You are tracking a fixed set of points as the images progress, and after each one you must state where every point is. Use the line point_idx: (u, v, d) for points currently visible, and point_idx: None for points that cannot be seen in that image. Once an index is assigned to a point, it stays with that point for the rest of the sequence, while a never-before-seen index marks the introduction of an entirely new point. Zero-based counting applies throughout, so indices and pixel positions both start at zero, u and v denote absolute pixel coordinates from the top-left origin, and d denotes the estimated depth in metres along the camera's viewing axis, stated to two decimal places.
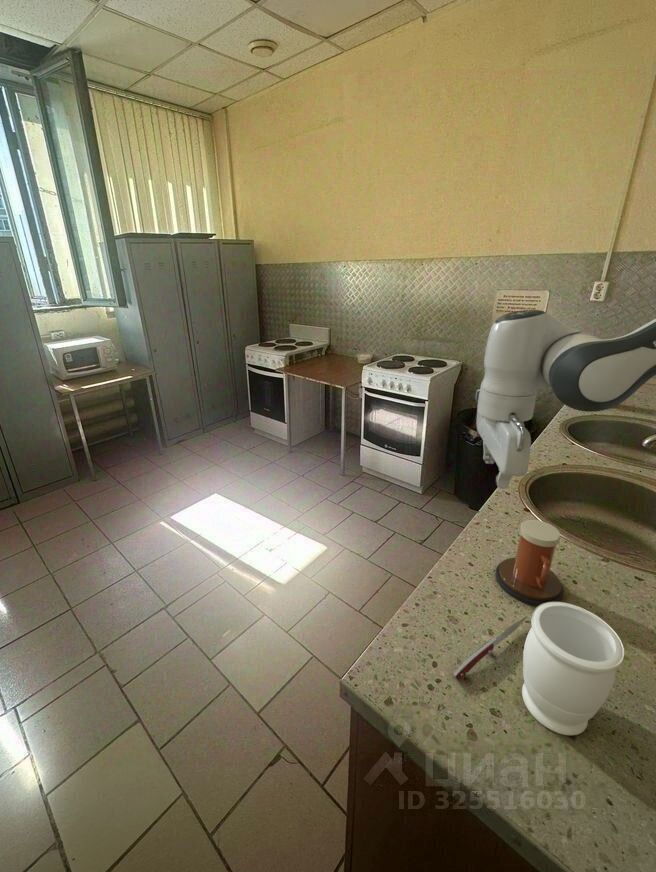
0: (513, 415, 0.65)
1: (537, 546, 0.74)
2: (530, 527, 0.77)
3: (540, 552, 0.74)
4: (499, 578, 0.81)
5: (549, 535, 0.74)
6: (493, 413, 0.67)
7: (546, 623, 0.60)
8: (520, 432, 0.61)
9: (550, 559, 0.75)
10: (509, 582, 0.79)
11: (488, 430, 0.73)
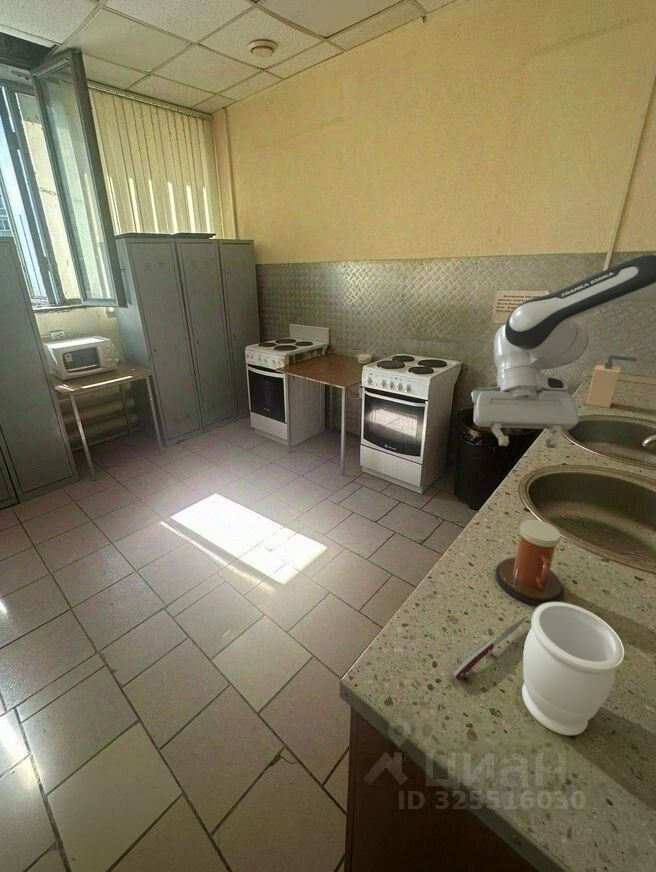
0: None
1: (537, 546, 0.74)
2: (530, 527, 0.77)
3: (540, 552, 0.74)
4: (499, 578, 0.81)
5: (549, 535, 0.74)
6: None
7: (546, 623, 0.60)
8: None
9: (550, 559, 0.75)
10: (509, 582, 0.79)
11: None
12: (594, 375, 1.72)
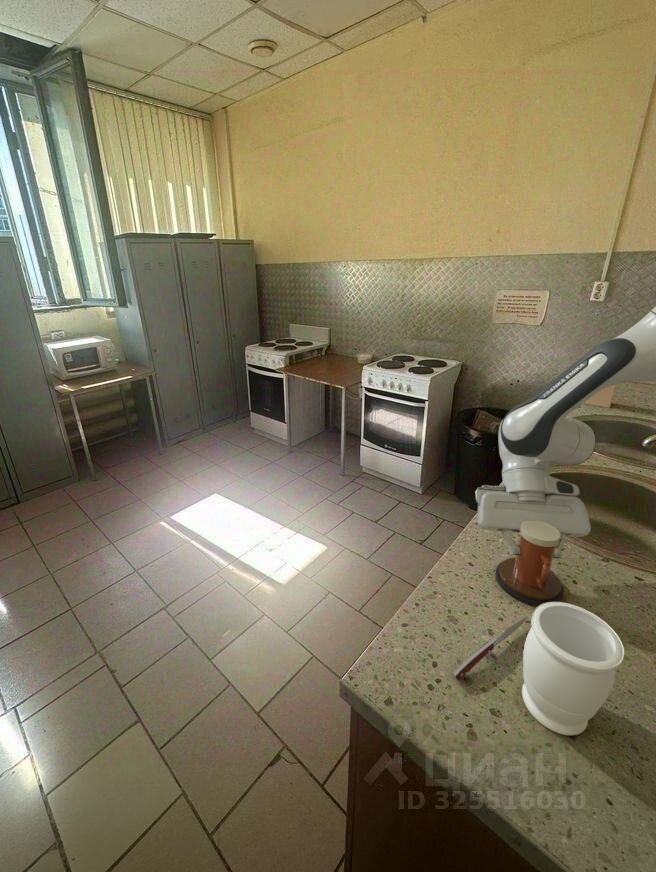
0: (499, 486, 0.84)
1: (537, 546, 0.74)
2: (530, 527, 0.77)
3: (540, 552, 0.74)
4: (499, 578, 0.81)
5: (549, 535, 0.74)
6: None
7: (546, 623, 0.60)
8: (477, 490, 0.84)
9: (550, 559, 0.75)
10: (509, 582, 0.79)
11: None
12: None
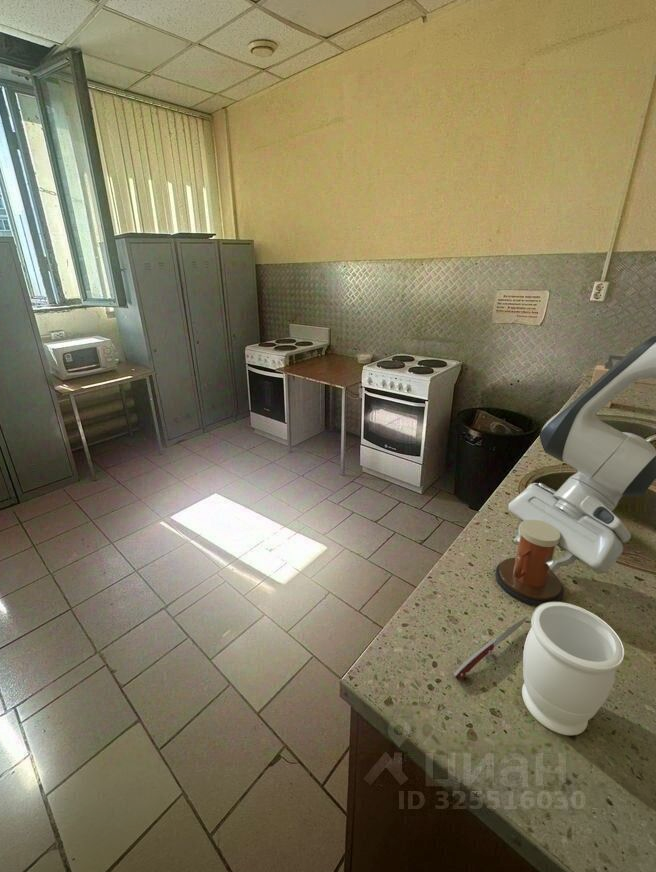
0: (556, 491, 0.82)
1: (524, 539, 0.76)
2: (533, 524, 0.77)
3: (525, 546, 0.76)
4: (499, 578, 0.81)
5: (541, 535, 0.74)
6: None
7: (546, 623, 0.60)
8: None
9: (537, 560, 0.75)
10: (501, 567, 0.82)
11: None
12: (594, 375, 1.72)
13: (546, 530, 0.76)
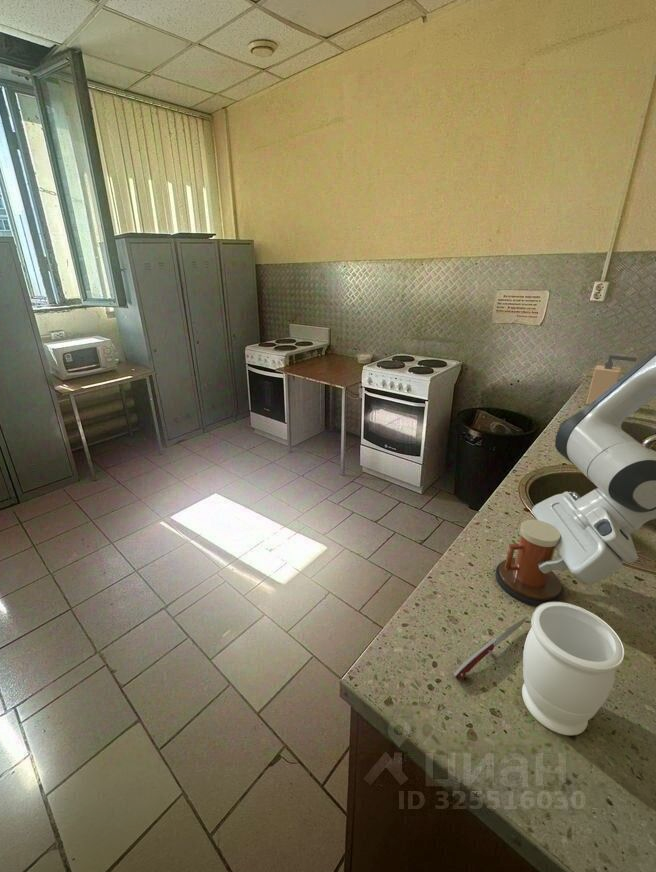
0: None
1: (521, 534, 0.77)
2: (537, 524, 0.77)
3: (521, 541, 0.77)
4: (499, 578, 0.81)
5: (535, 533, 0.75)
6: None
7: (546, 623, 0.60)
8: (569, 493, 0.82)
9: (529, 557, 0.76)
10: (505, 561, 0.84)
11: None
12: (594, 375, 1.72)
13: (546, 532, 0.75)
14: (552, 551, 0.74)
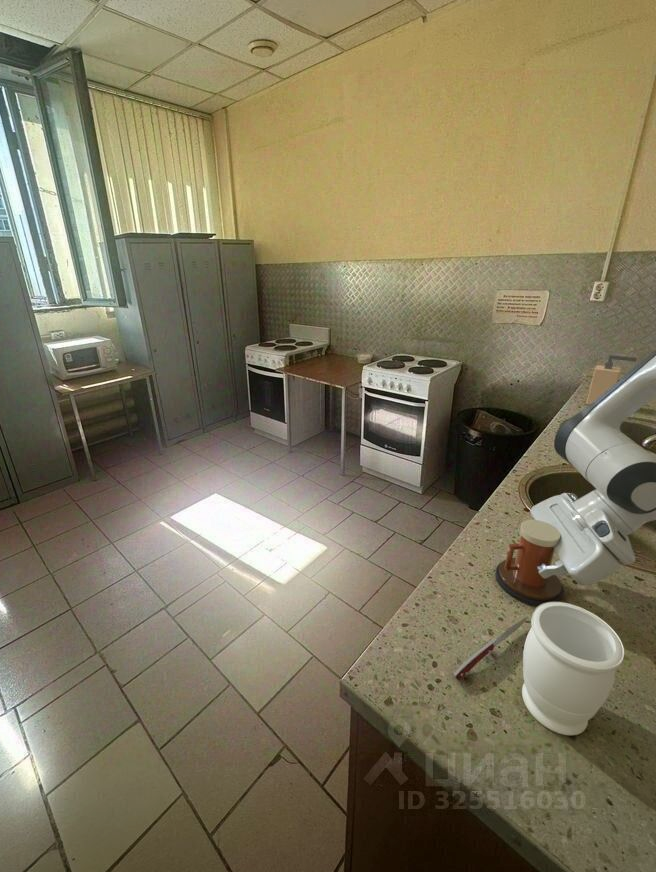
0: None
1: (521, 534, 0.78)
2: (537, 524, 0.77)
3: (520, 541, 0.77)
4: (499, 578, 0.81)
5: (535, 533, 0.75)
6: None
7: (546, 623, 0.60)
8: (568, 495, 0.83)
9: (529, 557, 0.76)
10: (506, 561, 0.84)
11: None
12: (594, 375, 1.72)
13: (546, 532, 0.75)
14: (552, 551, 0.74)
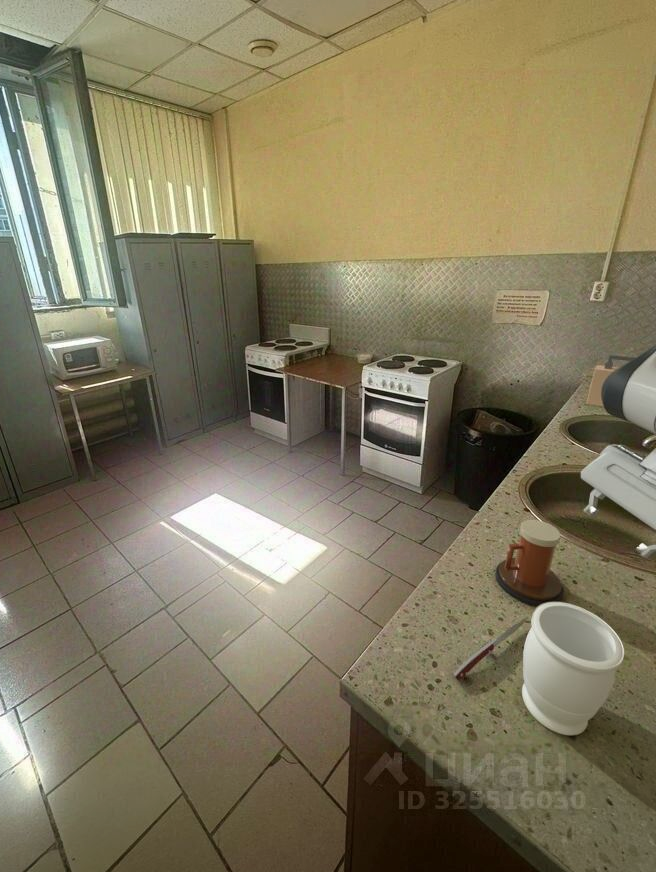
0: None
1: (521, 534, 0.78)
2: (537, 524, 0.77)
3: (520, 541, 0.77)
4: (499, 578, 0.81)
5: (535, 533, 0.75)
6: None
7: (546, 623, 0.60)
8: None
9: (529, 557, 0.76)
10: (506, 561, 0.84)
11: None
12: (594, 375, 1.72)
13: (546, 532, 0.75)
14: (552, 551, 0.74)
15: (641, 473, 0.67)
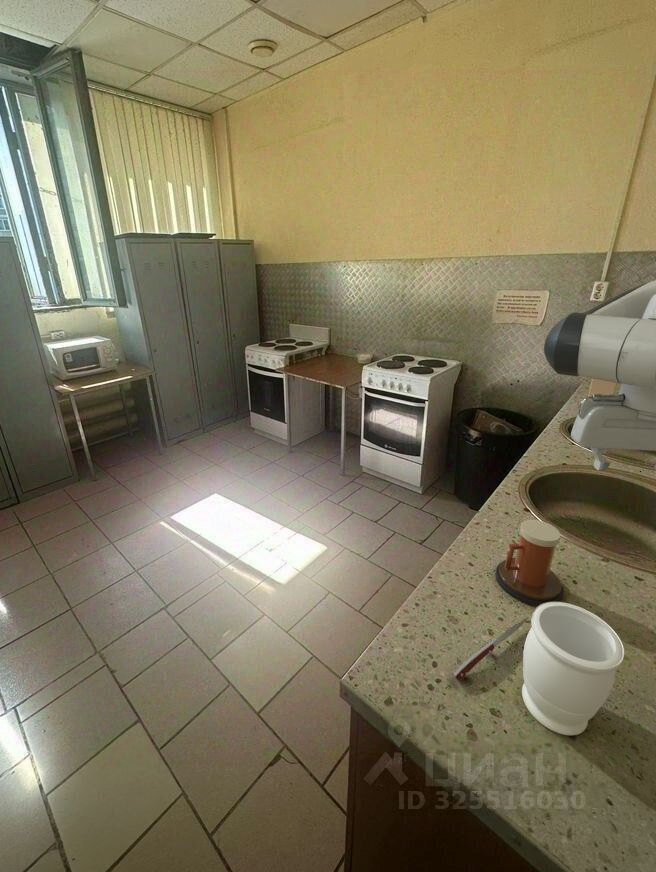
0: (616, 394, 0.65)
1: (521, 534, 0.78)
2: (537, 524, 0.77)
3: (520, 541, 0.77)
4: (499, 578, 0.81)
5: (535, 533, 0.75)
6: None
7: (546, 623, 0.60)
8: (584, 399, 0.66)
9: (529, 557, 0.76)
10: (506, 561, 0.84)
11: None
12: None
13: (546, 532, 0.75)
14: (552, 551, 0.74)
15: (636, 414, 0.64)
